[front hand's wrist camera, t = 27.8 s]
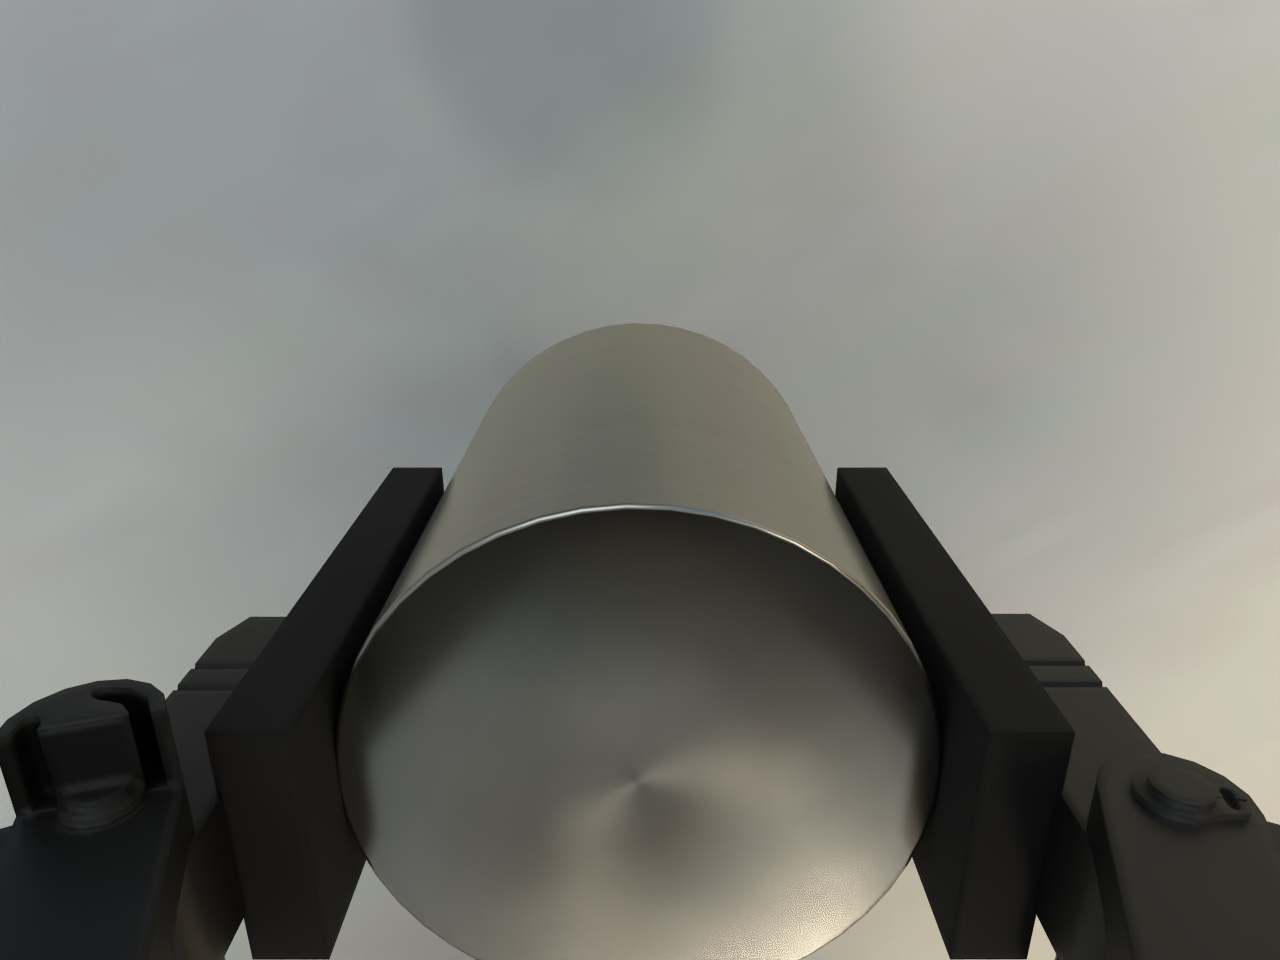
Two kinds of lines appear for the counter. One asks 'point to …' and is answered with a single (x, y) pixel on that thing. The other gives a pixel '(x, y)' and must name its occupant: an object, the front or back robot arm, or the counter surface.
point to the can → (638, 678)
